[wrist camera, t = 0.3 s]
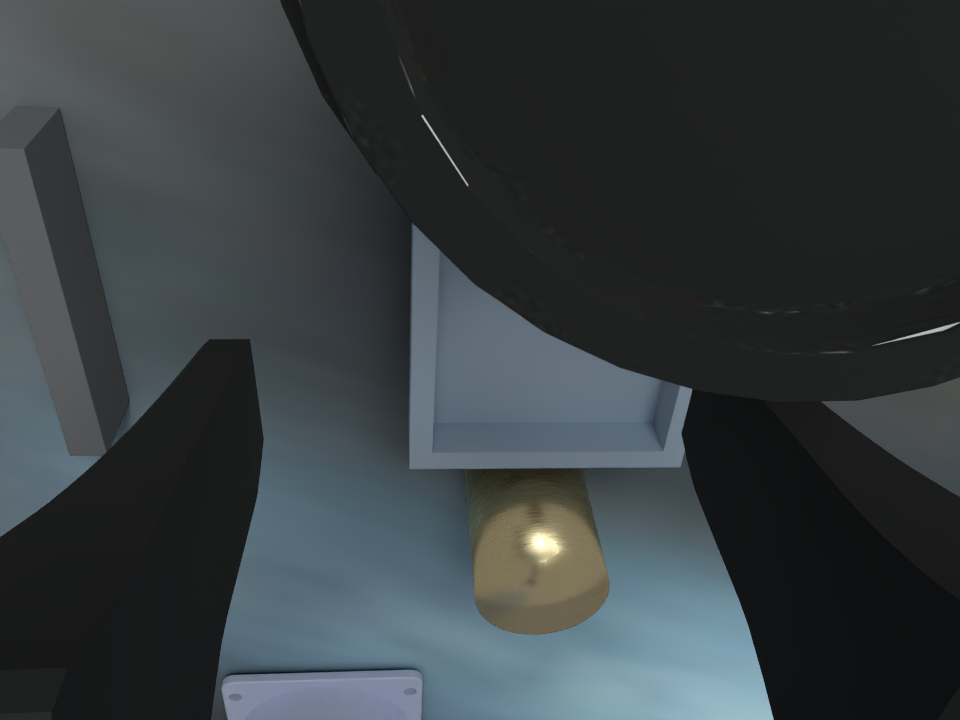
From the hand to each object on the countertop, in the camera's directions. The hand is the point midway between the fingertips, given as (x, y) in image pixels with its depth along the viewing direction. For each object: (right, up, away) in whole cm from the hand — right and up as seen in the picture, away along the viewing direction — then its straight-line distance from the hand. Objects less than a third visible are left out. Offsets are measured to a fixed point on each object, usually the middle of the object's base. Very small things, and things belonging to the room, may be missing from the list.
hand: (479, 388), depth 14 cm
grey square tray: (+2, +3, +10) cm, 11 cm away
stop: (-11, +3, +9) cm, 14 cm away
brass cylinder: (+1, -3, +15) cm, 15 cm away
